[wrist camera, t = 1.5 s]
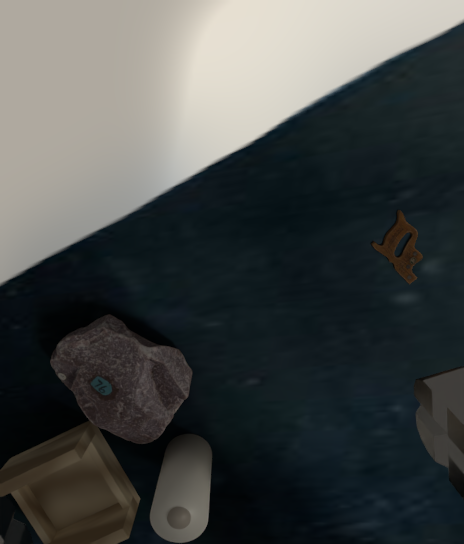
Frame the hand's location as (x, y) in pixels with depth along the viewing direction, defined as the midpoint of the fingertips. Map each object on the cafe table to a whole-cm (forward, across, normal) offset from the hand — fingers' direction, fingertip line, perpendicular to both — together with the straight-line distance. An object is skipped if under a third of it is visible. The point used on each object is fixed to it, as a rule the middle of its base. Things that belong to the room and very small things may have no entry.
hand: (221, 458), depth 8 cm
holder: (+30, -19, -28) cm, 45 cm away
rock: (+32, -10, -17) cm, 38 cm away
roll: (+29, -7, -28) cm, 41 cm away
